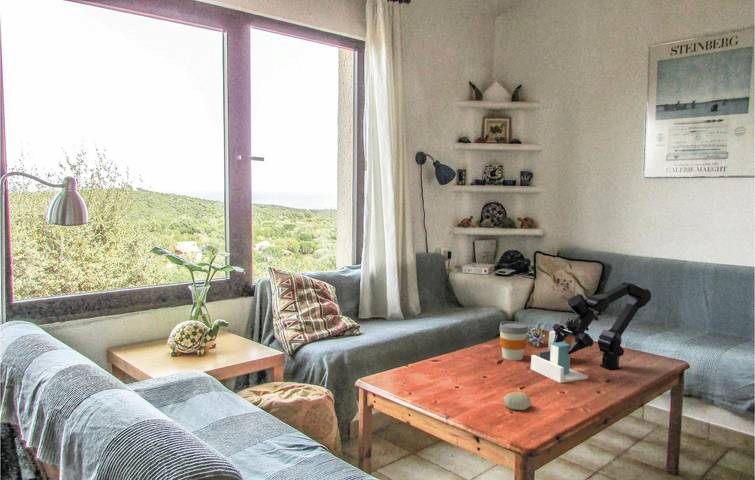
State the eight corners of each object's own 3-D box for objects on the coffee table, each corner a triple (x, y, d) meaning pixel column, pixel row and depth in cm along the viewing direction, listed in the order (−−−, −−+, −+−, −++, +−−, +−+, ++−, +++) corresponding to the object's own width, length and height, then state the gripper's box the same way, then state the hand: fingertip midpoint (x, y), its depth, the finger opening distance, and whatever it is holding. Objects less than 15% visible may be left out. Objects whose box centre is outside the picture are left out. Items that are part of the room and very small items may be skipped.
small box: (558, 363, 249) (560, 334, 248) (547, 359, 255) (548, 331, 253) (570, 360, 254) (572, 332, 252) (559, 356, 259) (560, 328, 258)
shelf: (556, 365, 247) (557, 347, 246) (587, 378, 230) (588, 359, 230) (530, 369, 241) (531, 350, 240) (560, 382, 225) (561, 363, 224)
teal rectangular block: (560, 370, 237) (562, 341, 236) (569, 373, 233) (570, 345, 232) (549, 371, 235) (550, 343, 234) (557, 375, 230) (559, 346, 229)
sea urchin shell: (498, 396, 204) (514, 381, 204) (512, 411, 205) (528, 396, 205) (505, 406, 195) (522, 390, 195) (520, 422, 196) (537, 406, 196)
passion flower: (536, 357, 276) (532, 341, 269) (518, 348, 284) (513, 332, 277) (550, 342, 280) (546, 325, 274) (532, 333, 288) (527, 317, 281)
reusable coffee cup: (530, 356, 259) (531, 323, 258) (521, 363, 249) (523, 329, 247) (503, 351, 266) (505, 319, 264) (494, 358, 255) (495, 325, 254)
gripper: (556, 304, 242) (534, 332, 239) (589, 314, 225) (566, 344, 222) (570, 321, 246) (549, 349, 243) (603, 331, 229) (580, 361, 226)
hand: (560, 350), depth 233 cm, fingers open, 9 cm apart
